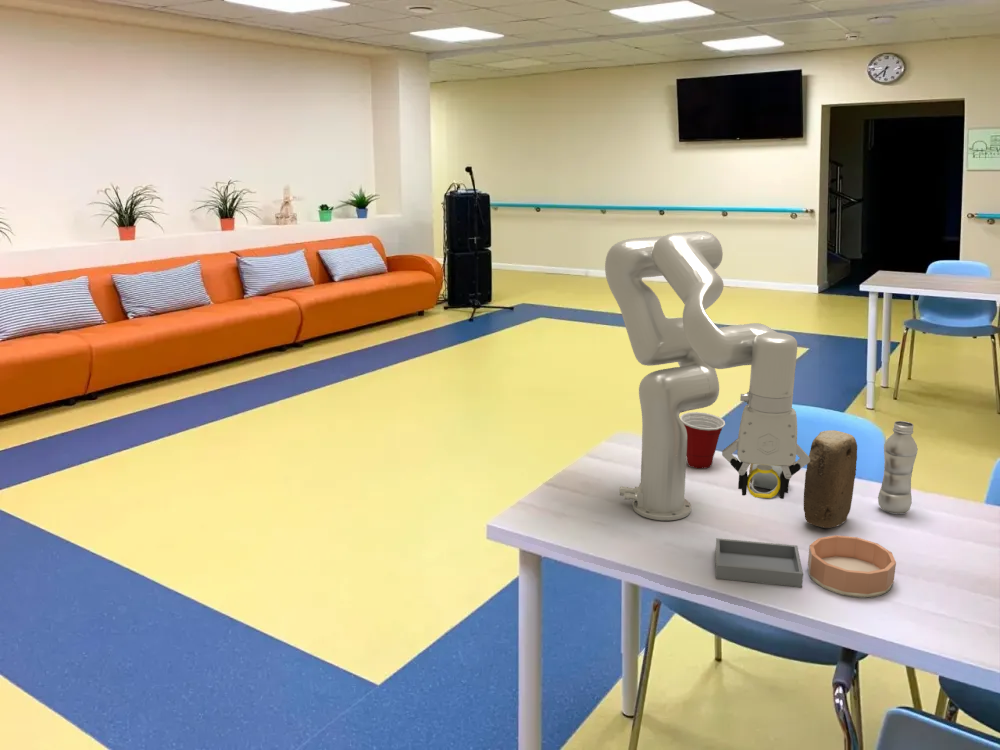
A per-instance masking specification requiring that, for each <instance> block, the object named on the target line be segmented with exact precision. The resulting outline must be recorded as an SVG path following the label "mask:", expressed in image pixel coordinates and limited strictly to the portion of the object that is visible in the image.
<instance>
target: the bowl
mask: <svg viewBox="0 0 1000 750" xmlns="http://www.w3.org/2000/svg"><path fill="white" fill-rule="evenodd" d="M896 565H897V562H896V559H895V557H894V555H893V552H892V551H890V550H889V549H888V548H887V549H886V548H885V547H884V546H882V545H881V544H879V543H877V542H874V541H871V540H867V539H865V538H861V537H858V536H847V535H836V534H835V535H829V536H824V537H818V538H817V539H816V540H814V541H813V542H812V543H810V544H809V548H808V559H807V567H808V569H807V571H808V575H809V577H810V579H811V580H812V581H813V582H814V583H815V584H817V585H818V586H819V587H822V588H823V589H825V590H827V591H830V592H832V593H835V594H838V595H842V596H846V597H852V598H853V597H854V598H873V597H874V598H875V597H879V596H882V595H884V594H887V593H888V592H889V591H890V590H891V588H892V585H893V584H894V583H895V573H896Z"/></svg>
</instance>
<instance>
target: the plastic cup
mask: <svg viewBox="0 0 1000 750" xmlns="http://www.w3.org/2000/svg"><path fill="white" fill-rule="evenodd" d="M679 417H680V419H681V421H682V423H683V424H684V426H685V428H686V431H687V456H686V463H687V465H688V466H689V467H690V468H695V469H709V468H710V467H711V466H712V464H713V460H714V456H715V454H716V450H717V446H718V442H719V438H720V434H721V433H722V430H723V429H724V427H725V426H726V422H725V420H724V419H723V418H721V417H719V416H717V415H715V414H711V413H707V412H698V411H692V412H686V413H682V414H681V416H679Z"/></svg>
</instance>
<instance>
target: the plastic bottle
mask: <svg viewBox="0 0 1000 750" xmlns="http://www.w3.org/2000/svg"><path fill="white" fill-rule="evenodd" d="M892 432H893V433H892V434H891V435H890V436H889V437H887V439H886V440H885V442H884V444H883V454H884V455H883V456H884V457H883V458H884V463H883V464H884V466H883V468H884V469H883V477H882V482H881V486H880V490H879V493H878V495H877V500H878V501H877V502H878V506H879V507H880V509H881V510H883V511H885V512H887V513H890V514H895V515H903V514H904V515H905V514H906V513H907V512H909V511H910V509H911V507H912V503H913V502H912V501H913V500H912V499H913V498H912V477H913V476H912V475H913V474H912V473H913V471H914V470H913V469H914V465H915V462H916V458H917V455H918V449H919V448H918V445H917V442H916V440H915V439H914V437H913V436H912V435H913V434H914V424H913V423H912V422H909V421H904V420H897V421H894V424H893V427H892Z"/></svg>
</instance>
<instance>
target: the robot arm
mask: <svg viewBox="0 0 1000 750" xmlns="http://www.w3.org/2000/svg"><path fill="white" fill-rule="evenodd" d="M723 253H724V252H723V247H722V244H721V242H720V240H719V239H718V238H717V236H715V235H714V234H712V233H711V232H709V231H705V230H700V231H699V230H697V231H684V232H674V233H669V234H665V235H662V236H661V235H660V236H649V237H646V236H645V237H634V238H628V239H624V240H621V241H617V242H616V243H615V244H613V245H612V246H611V247H610V248H609V250H608V252H607V253H606V257H605V263H604V264H605V265H604V272H605V278H606V281H607V285H608V287H609V289H610V292H611V294H612V296H613V297H614V299H615V302H616V303H617V305H618V307H619V310H620V312H621V315H622V320H623V322H624V326H625V330H626V332H627V336H628V339H629V343H630V346H631V349H632V352H633V355H634V357H635V359H636V360H637V362H638V363H639V364H641V365H643V366H646V367H647V366H648V367H649V366H651V367H652V366H660V365H667V364H673V363H678V366H676V367H670V368H669V367H668V368H663V369H658V370H655V371H652V372H650V373H648V374H646V375H645V376H644V377H643V378H642V379H641V381H640V382H639V385H638V397H639V398H638V400H639V404H640V409H641V423H642V426H641V427H642V428H641V429H642V430H641V432H642V433H641V458H640V459H641V460H640V462H641V463H640V464H641V465H640V482H639V485H638V486H634V487H629V486H628V487H627V486H620V487H619V496H623V500H632V509H633V510H634V512H635V513H636V514H637V515H639V516H641V517H643V518H646V519H650V520H655V521H676V520H681V519H684V518H685V517H688V516H689V515H690V514H691V512H692V511H691V510H692V506H691V505H692V504H691V503H690V502H689V500H688V499H686V498H685V495H686V493H685V491H686V489H685V488H686V473H687V472H686V471H687V470H686V469H687V431H686V428H685V426H684V424H683V423H682V421H681V418H680V417H681V416H680V414H681V413H685V412H688V411H694V410H698V409H703V408H707V407H710V406H713V404H714V403H715V402H716V401H717V400H718V398H719V394H720V382H719V378H718V374H717V370H724V369H731V368H735V367H742V366H750V377H749V388H748V391H747V392H746V393H740V396H739V397H740V398H739V399H740V400H739V401H740V402H744V403H746V404H745V406H744V407H743V411H742V414H741V419H740V423H739V429H738V434H737V435H738V437H737V438H736V439H735V440H734V441H732V442H731V443H730V444H729V445H727V446H726V447H725V448H723V450H721V454H722V457H723V458H724V459H725V460H726V461H727V462H728V463H730V465H731V466H732V468H734V470H735V471H737V473H738V484H737V489H738V490H741V496H743V497H744V496H746V495H747V490H748V488H747V478H748V475H749V474H748V471H747V470H748V468H750V464H758V465H771V466H781V468H782V472H781V474H780V481H781V482H780V490H779V492H778V497H779V499H782V500H783V499H784V498H785V494H788V493H789V485H790V481H789V479H790V480H791V478H792V477H793V475H795V474H796V473H798V472H799V471H800V470H801V469H802V468H804V467H805V466H807V464H808V463H809V462H810V457H809V454H807V453H806V452H805V451H804V450H803V448H802V447H801V446H800V445H799V444H798V418H797V417H798V416H797V413H796V412H797V411H796V410H795V409H794V408H793V399H794V390H795V389H794V388H795V387H794V386H795V379H796V377H795V375H796V368H797V367H796V364H797V356H798V341H797V339H796V338H795V337H794V336H793V335H790V334H788V333H785V332H784V333H783V332H777V331H776V330H774V329H773V328H771V327H769V326H767V325H766V324H762V323H759V322H758V323H757V322H756V323H755V322H752V323H745V324H735V325H729V326H723V327H722V326H721V327H719V326H717V325H716V324H715V323H714V322H713V320H712V319H711V318H710V316H709V315H708V314H707V311H706V310H708V309H709V308H710V307H711V306H712V305H713V304H715V303H716V302H717V301H718V299H719V298H720V296H721V295H722V293H723V290H724V280H723V279H722V277H721V276H720V275H719V274H718V272H717V271H716V269H717V268H719V266H720V265H721V263H722V260H723ZM653 277H663V278H664V279H665V280H666V282H667V283H668V285H670V287H671V288H672V289H673V292H675V294H676V295H677V296H678V298H679V299H680V300H681V302H682V303H683V304H684V307H683V311H682V317H673V318H667V317H666V316H665V314H664V311H663V308H662V305H661V301H660V299H659V298H658V296H657V294H656V293H655V292H654V291H653V290H652V288H651V287H650V286H649V285H647V284H646V283H645V282H644V281H643V278H653ZM716 369H717V370H716ZM735 452H736V453H737V457H736V456H734V453H735ZM797 457H798V459H797Z"/></svg>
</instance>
